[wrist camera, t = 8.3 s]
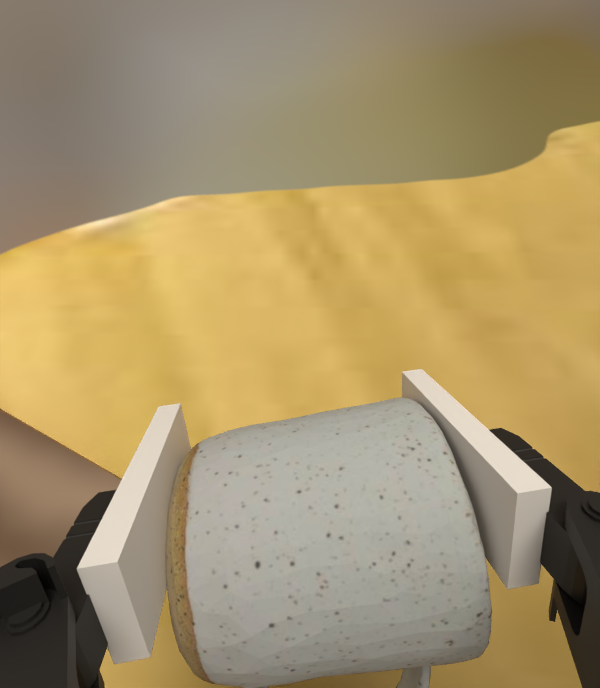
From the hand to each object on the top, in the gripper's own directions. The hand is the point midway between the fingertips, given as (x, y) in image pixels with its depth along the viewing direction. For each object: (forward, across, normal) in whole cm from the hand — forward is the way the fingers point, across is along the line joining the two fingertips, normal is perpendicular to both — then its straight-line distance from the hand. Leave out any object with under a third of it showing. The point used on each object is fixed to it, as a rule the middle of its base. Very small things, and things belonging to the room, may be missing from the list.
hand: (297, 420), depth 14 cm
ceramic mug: (-1, 0, -6) cm, 6 cm away
